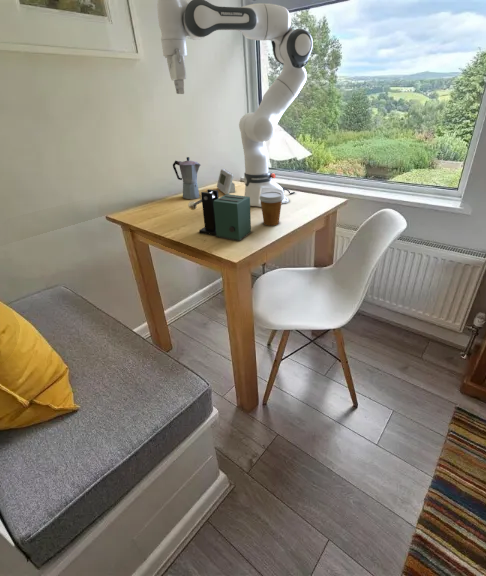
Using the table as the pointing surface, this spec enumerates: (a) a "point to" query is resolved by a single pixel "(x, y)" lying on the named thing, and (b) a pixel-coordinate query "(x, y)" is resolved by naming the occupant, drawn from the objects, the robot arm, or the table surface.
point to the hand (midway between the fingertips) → (180, 93)
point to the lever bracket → (209, 212)
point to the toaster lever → (193, 205)
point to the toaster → (232, 217)
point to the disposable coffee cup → (271, 207)
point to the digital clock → (226, 182)
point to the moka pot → (188, 178)
